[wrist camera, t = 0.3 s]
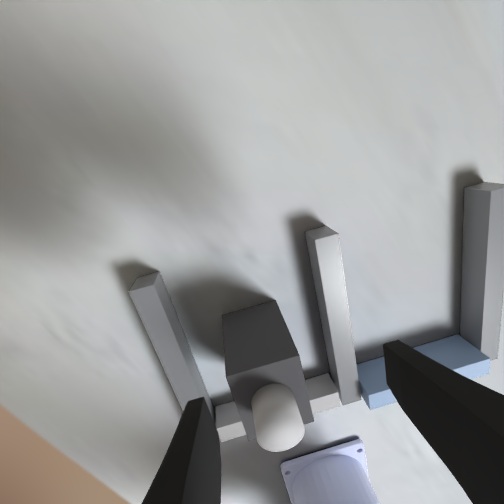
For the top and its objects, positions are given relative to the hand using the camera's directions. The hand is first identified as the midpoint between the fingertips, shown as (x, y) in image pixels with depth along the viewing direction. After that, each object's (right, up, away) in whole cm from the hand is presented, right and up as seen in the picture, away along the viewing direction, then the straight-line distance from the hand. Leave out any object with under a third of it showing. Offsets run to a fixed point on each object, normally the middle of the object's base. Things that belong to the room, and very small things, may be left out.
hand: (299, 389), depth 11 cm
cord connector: (-1, -1, +10) cm, 11 cm away
